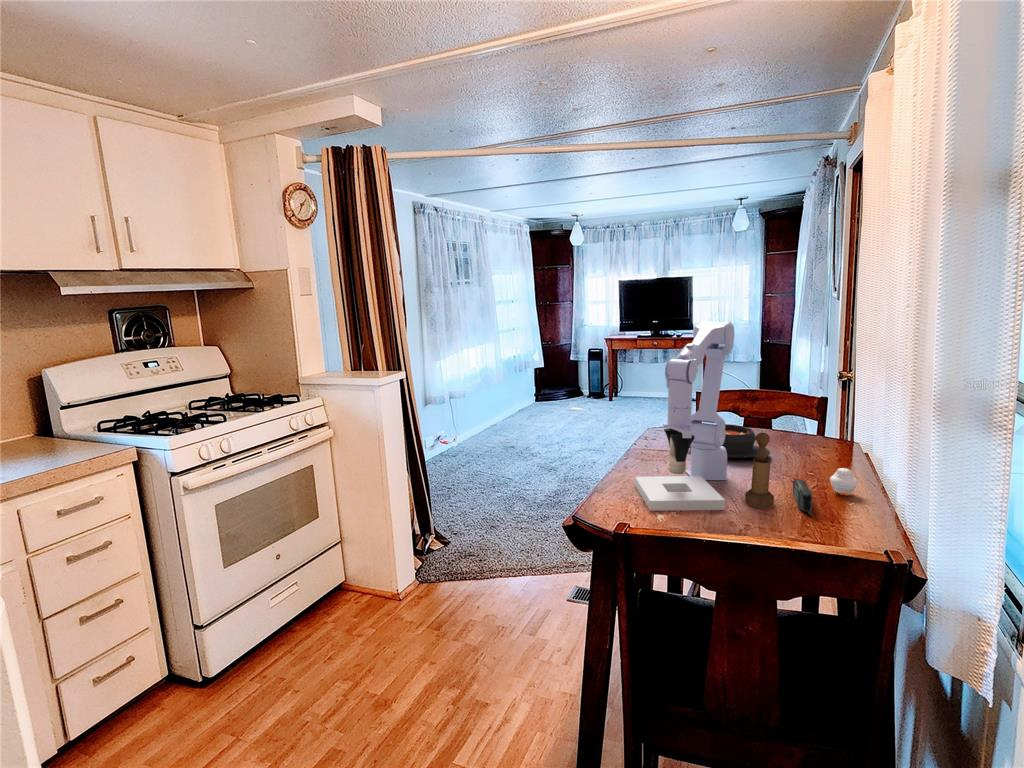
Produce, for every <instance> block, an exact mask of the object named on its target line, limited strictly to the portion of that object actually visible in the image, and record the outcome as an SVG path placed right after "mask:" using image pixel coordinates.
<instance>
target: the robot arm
mask: <svg viewBox="0 0 1024 768" xmlns="http://www.w3.org/2000/svg"><path fill="white" fill-rule="evenodd" d="M692 334H693V340H692V341H691V343H687V344H685V345H684V347H683V348H682V349H681V351H680V352H679V353H678V355H676V357H675V358H672V359H670V360H668V361H667V362H666V364H665V369H664V378H665V381H666V385H665V386H666V388H667V390H668V393H667V394H668V395H667V421H666V422H662V427H664V429H663V431H664V433H665V435H666V437H667V440H668V446H669V447H668V448H670V437H671V438H672V441H673V444H674V450H675V458H676V461H677V462H685V460H686V461H687V457H688V454H689V449H690V448H689V447H690V446H691V449H690V468H689V469H686V470H685V474H687V476H702V477H703V478H704V479H705V481H727V480H728V477H727V475H728V474H727V472H728V471H727V470H728V469H727V468H728V458H727V452H726V449H725V447H724V446H722V445H723V443H724V440H725V424H726V422H725V419H724V418H722V416H720V415H719V413H718V412H717V411H718V407H719V406H718V405H719V398H720V392H721V391H720V390H721V384H722V378H723V377H722V376H723V370H724V363H725V361H726V360H725V359H726V356H728V355H730V354H732V352H733V351H732V350H733V347H734V342H735V341H734V339H735V327H734V324H733V323H732V322H731V321H728V322H716V321H715V322H714V321H713V322H711V321H710V322H707V321H705V322H704V321H697V322H696V324H695V325H694V327H693V332H692ZM705 357H706V360H705V367H704V373H703V381H702V385H701V393H700V400H699V408H698V410H697V411H695V412H694V413H693V414H692V410H693V409H692V408H693V407H692V406H693V405H692V403H693V383H694V382H695V381H696V378H697V374H698V372H699V366H700V365H701V364H702V361H703V360H704V358H705ZM716 424H717V425H716Z"/></svg>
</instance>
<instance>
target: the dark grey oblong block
mask: <svg viewBox="0 0 1024 768" xmlns="http://www.w3.org/2000/svg"><path fill="white" fill-rule="evenodd" d="M792 484H793V485H792V488H793V489H792V496H793V495H794V496H793V497H794V499H795V502H796V503H797V508H798V509H799V510H800V511H802V512H805V513H808V514H810V515H813V516H814V514H813V513H812V509H813V492H812V489H810V487H809V486H808V484H807V482H806V481H805V480H803V479H801V478H800V479H799V478H795V479H793V483H792ZM810 515H809V516H810Z"/></svg>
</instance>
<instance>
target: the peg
mask: <svg viewBox="0 0 1024 768" xmlns="http://www.w3.org/2000/svg"><path fill="white" fill-rule="evenodd" d="M668 461H669V463H668V464H669V466H668V471H669V473H670V474H675V475H684V474H686V470H687V468H686V464H687V459H686V460H685V462H677V461H676V458H675V450H674V444H673V441H672V438H671V437H670V447H669V460H668Z"/></svg>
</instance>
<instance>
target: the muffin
mask: <svg viewBox="0 0 1024 768" xmlns="http://www.w3.org/2000/svg"><path fill="white" fill-rule="evenodd" d="M829 481H830V484H831V488H832V490H833V491H834V492H835V491H836V492H838V493H845V494H846V493H848V494H849V493H851V492H853V491H854V490H855V488H856V486H857V485H858V481H857V478H856V477H854V475H853V472H852V470H851V469H849V468H846V467H841V468H840V467H839V468H837V469H836V471H835V473H833V475H832V476H830V477H829ZM851 494H852V493H851Z"/></svg>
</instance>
